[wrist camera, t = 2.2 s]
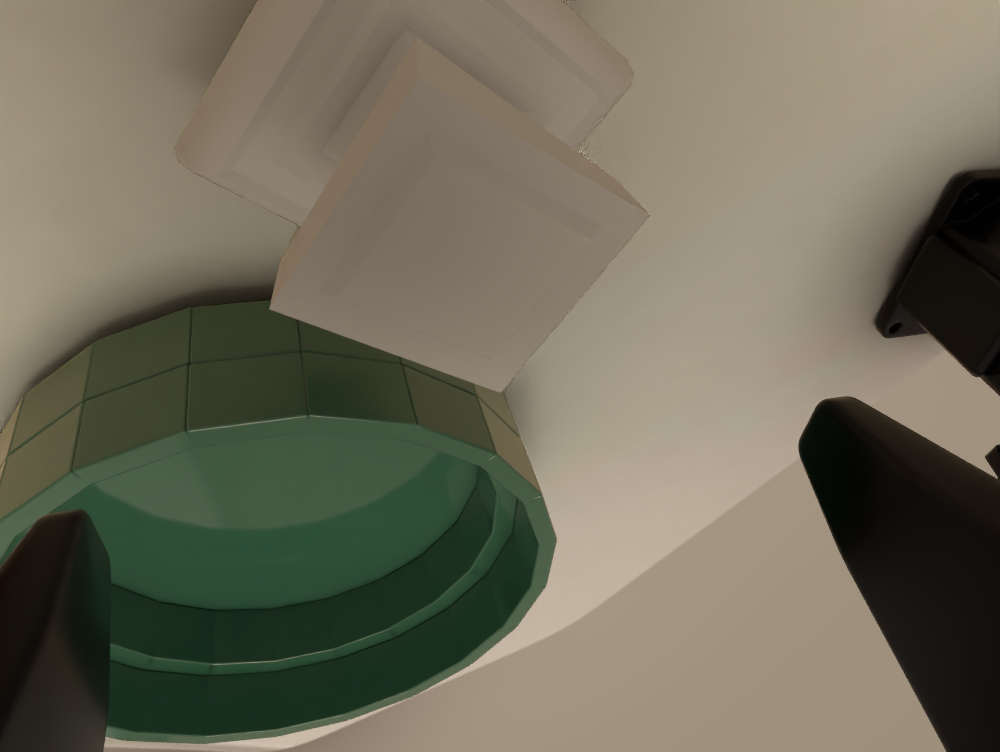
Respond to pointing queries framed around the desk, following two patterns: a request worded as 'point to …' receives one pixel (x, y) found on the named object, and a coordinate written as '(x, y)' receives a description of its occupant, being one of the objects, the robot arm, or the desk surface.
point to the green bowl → (279, 519)
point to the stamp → (423, 169)
